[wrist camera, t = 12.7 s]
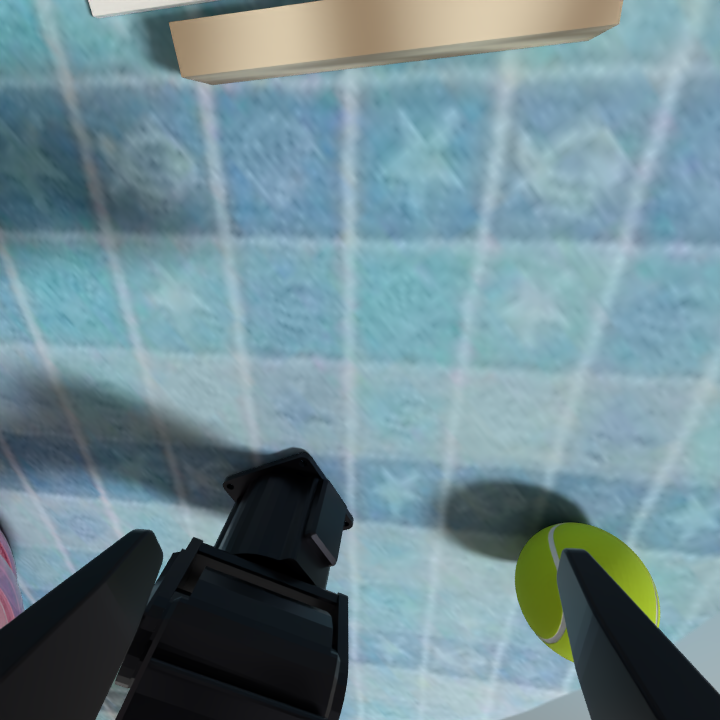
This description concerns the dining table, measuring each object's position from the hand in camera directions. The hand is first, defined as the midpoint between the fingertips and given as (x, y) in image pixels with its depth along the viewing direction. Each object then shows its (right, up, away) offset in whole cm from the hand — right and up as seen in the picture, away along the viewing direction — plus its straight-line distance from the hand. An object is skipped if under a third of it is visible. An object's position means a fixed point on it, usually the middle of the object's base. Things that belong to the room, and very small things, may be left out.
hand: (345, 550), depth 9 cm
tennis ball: (+13, -7, +17) cm, 23 cm away
